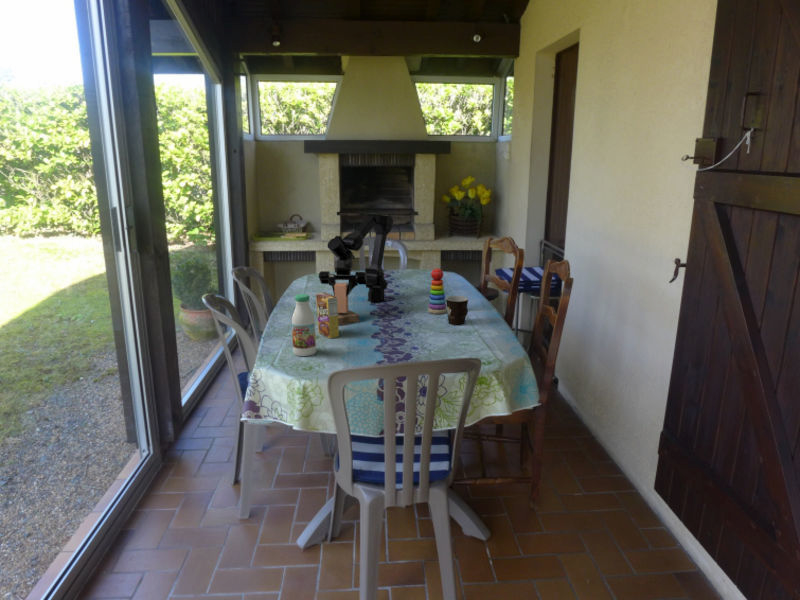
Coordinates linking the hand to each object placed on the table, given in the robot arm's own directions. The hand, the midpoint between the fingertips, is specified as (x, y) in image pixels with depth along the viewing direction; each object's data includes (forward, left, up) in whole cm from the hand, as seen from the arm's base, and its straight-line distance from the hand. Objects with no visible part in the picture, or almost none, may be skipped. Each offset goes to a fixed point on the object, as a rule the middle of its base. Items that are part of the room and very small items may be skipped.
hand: (340, 295), depth 219 cm
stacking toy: (-40, +10, -11) cm, 43 cm away
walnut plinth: (-1, -1, -11) cm, 11 cm away
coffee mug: (-36, +28, -11) cm, 47 cm away
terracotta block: (-1, -1, -7) cm, 7 cm away
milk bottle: (+27, +25, -11) cm, 38 cm away
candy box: (+12, +12, -11) cm, 20 cm away
